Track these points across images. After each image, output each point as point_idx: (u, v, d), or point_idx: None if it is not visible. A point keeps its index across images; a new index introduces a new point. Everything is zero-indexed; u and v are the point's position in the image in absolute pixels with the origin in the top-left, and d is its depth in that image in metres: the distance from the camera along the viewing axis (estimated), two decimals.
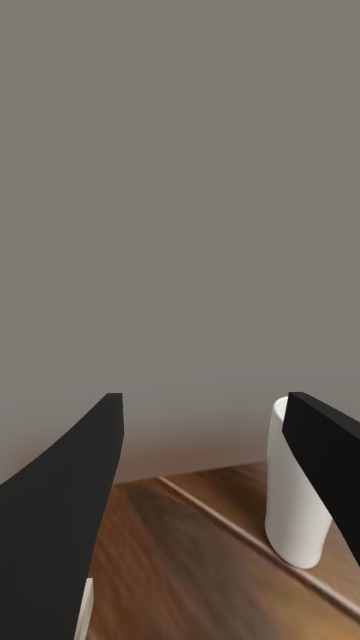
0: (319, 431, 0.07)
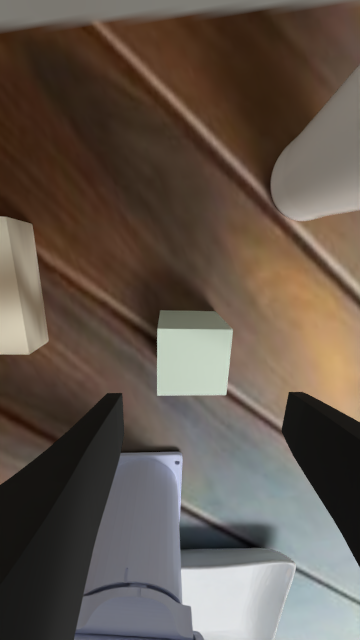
0: (319, 431, 0.07)
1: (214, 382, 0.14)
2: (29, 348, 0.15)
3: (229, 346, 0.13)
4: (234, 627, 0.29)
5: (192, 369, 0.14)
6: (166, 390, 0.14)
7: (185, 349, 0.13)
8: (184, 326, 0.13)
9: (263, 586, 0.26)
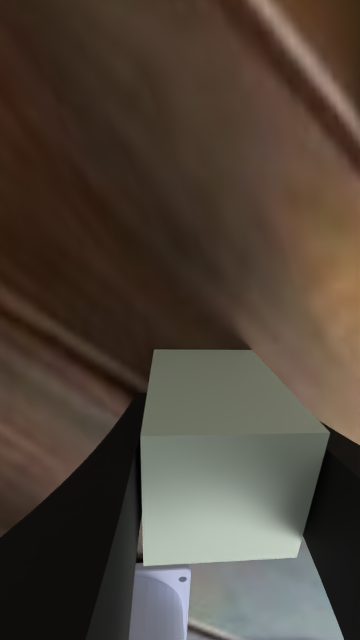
0: None
1: (273, 537, 0.06)
2: None
3: (315, 469, 0.05)
4: None
5: (225, 515, 0.06)
6: (164, 556, 0.06)
7: (211, 477, 0.05)
8: (207, 420, 0.05)
9: None
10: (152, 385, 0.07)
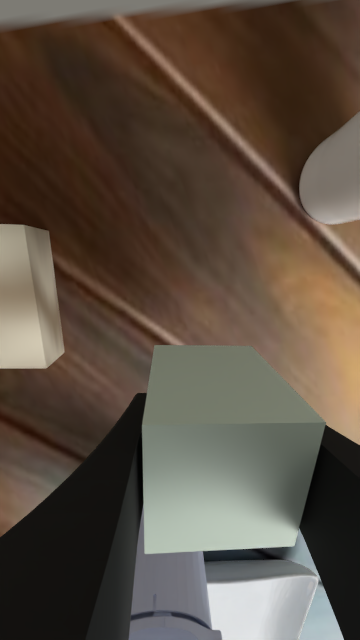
0: None
1: (271, 525, 0.06)
2: (46, 362, 0.14)
3: (312, 458, 0.06)
4: (252, 639, 0.28)
5: (224, 503, 0.06)
6: (165, 544, 0.06)
7: (211, 466, 0.06)
8: (207, 411, 0.06)
9: (283, 598, 0.26)
10: (153, 378, 0.07)
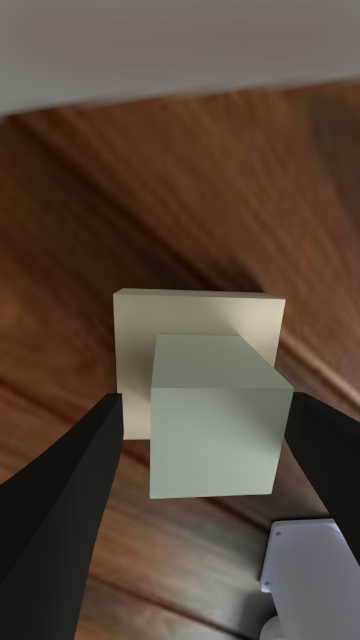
0: (319, 431, 0.07)
1: (252, 475, 0.08)
2: None
3: (284, 418, 0.07)
4: None
5: (214, 455, 0.07)
6: (166, 490, 0.08)
7: (204, 423, 0.07)
8: (202, 380, 0.07)
9: None
10: (157, 358, 0.09)
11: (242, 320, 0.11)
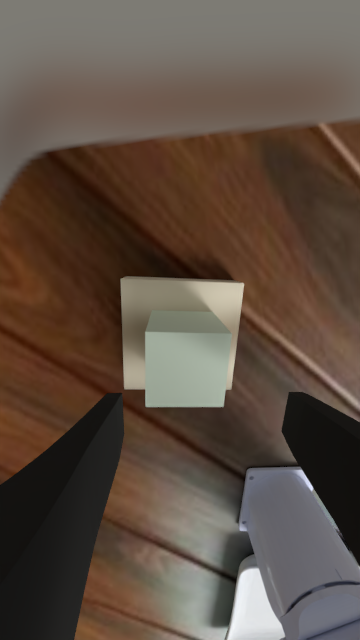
0: (319, 431, 0.07)
1: (210, 393, 0.12)
2: (231, 384, 0.18)
3: (227, 353, 0.12)
4: None
5: (185, 378, 0.12)
6: (155, 401, 0.12)
7: (178, 355, 0.12)
8: (176, 329, 0.12)
9: None
10: (150, 321, 0.13)
11: (213, 298, 0.16)
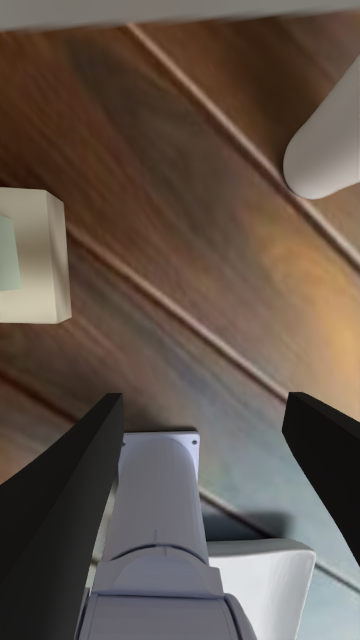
0: (319, 431, 0.07)
1: None
2: (57, 317, 0.16)
3: None
4: None
5: None
6: None
7: None
8: None
9: (282, 582, 0.25)
10: None
11: (12, 207, 0.14)
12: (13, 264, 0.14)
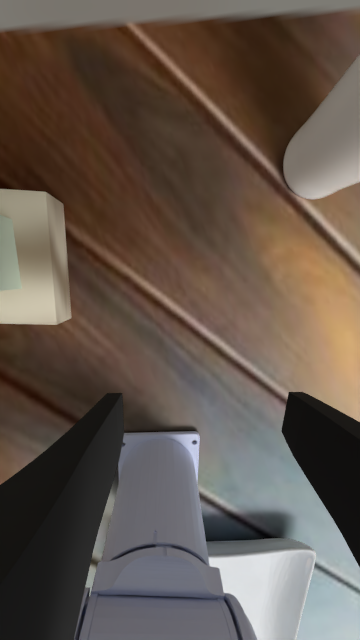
0: (319, 431, 0.07)
1: None
2: (57, 318, 0.16)
3: None
4: None
5: None
6: None
7: None
8: None
9: (282, 582, 0.25)
10: None
11: (12, 209, 0.14)
12: (13, 264, 0.14)
